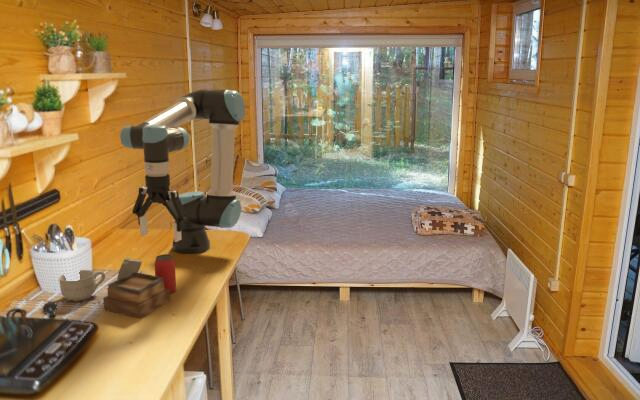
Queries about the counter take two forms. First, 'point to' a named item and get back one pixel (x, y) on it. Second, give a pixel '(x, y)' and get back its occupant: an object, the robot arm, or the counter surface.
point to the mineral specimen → (129, 267)
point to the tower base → (137, 307)
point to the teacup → (80, 285)
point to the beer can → (166, 271)
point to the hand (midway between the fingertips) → (161, 237)
